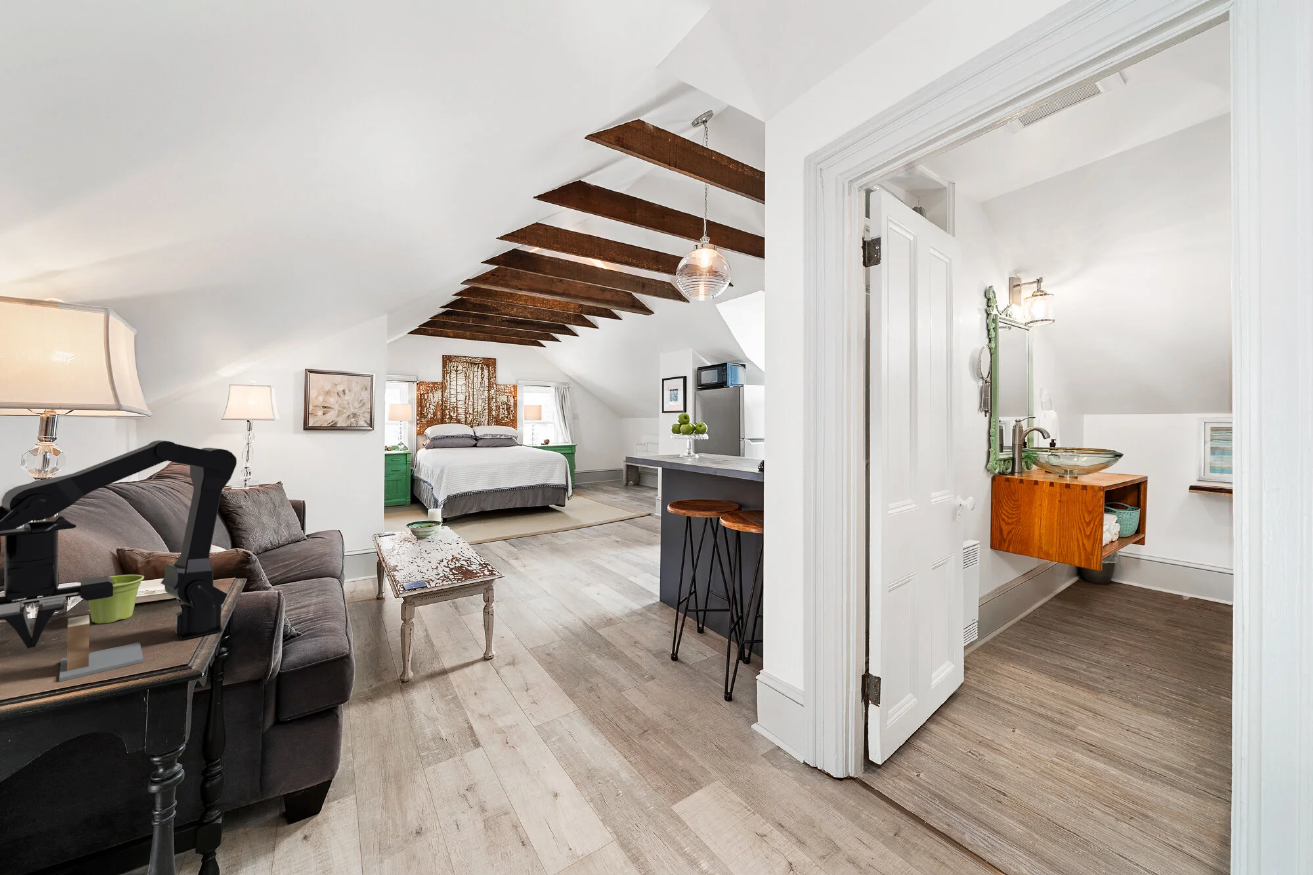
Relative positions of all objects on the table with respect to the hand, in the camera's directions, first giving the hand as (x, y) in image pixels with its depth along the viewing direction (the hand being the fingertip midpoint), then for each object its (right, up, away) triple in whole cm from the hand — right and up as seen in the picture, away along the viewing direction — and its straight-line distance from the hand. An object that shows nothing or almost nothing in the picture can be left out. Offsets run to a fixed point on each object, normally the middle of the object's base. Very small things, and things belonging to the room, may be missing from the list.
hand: (31, 647), depth 85 cm
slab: (+3, -5, +4) cm, 7 cm away
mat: (+5, -6, +6) cm, 10 cm away
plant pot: (-14, -5, +25) cm, 29 cm away
